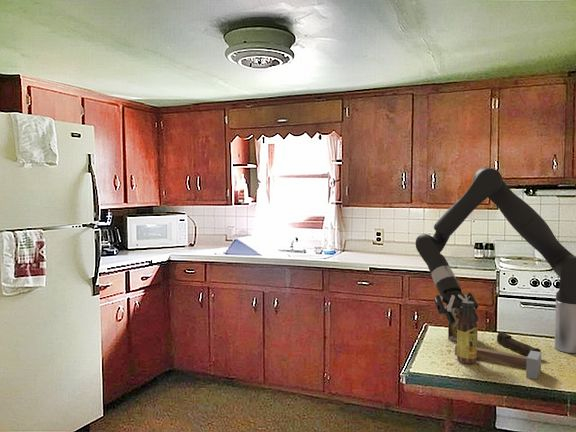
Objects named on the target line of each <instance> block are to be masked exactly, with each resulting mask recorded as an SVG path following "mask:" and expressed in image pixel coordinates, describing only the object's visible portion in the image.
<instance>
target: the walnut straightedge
mask: <svg viewBox="0 0 576 432" xmlns="http://www.w3.org/2000/svg"><path fill="white" fill-rule="evenodd" d="M454 355H455V356H457V344H456V345H455V346H454ZM476 360H481V361H487V362H491V363H495V364H497V363H498V364H502V365H507V366H511V367H512V366H513V367H518V368H524V369H526V361H527V356H526V355H520V354H516V353H508V352H504V351H503V352H502V351H498V350H492V349H488V348H487V349H486V348H481V347H477V358H476Z"/></svg>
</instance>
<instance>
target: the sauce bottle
mask: <svg viewBox="0 0 576 432" xmlns="http://www.w3.org/2000/svg"><path fill="white" fill-rule="evenodd" d="M474 307H475V303H474V302H472V301H462V316H461V317H460V318H459V321H458V330H457V341H456V345H457V355H456V357H457V358H456V359H457V361H458V362H459V363H463V364H469V365H471V364H474V363H476V362H477V359H476V358H477V348H478V329H479V328H478V327H479V326H478V324H477V322H476V320H475V317H474Z"/></svg>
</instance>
